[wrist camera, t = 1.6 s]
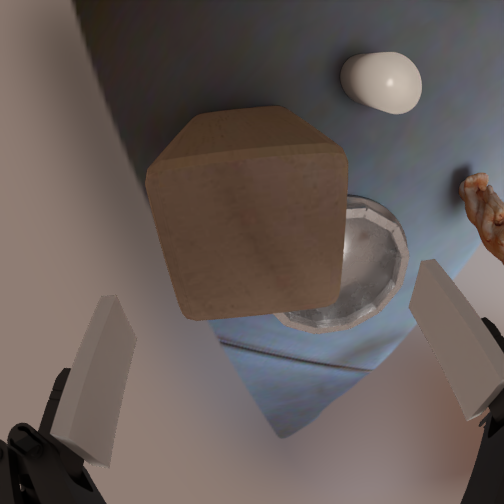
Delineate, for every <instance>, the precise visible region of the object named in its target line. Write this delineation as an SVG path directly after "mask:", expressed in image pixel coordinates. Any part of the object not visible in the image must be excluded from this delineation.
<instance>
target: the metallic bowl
mask: <svg viewBox="0 0 504 504" xmlns="http://www.w3.org/2000/svg"><path fill="white" fill-rule="evenodd" d="M408 260H409V251H408V249H407V240H406V236H405V233H404V230H403V228H402V226H401V224H400V223H399V221H398V220H397V219H396V217H395V216H394V215H393V214H392V213H391V212H390V211H389V210H388V209H387V208H385V207H384V206H382V205H381V204H379V203H377V202H375V201H373V200H371V199H368V198H365V197H361V196H355V195H347V210H346V227H345V241H344V254H343V265H342V276H341V285H340V292H339V297H338V299H337V301H336V302H335V303H333V304H331V305H329V306H327V307H322V308H314V309H307V310H299V311H291V312H283V313H274V315H275V316H276V317H277V318H278V319H279V320H280V322H281V323H282V324H283V325H285V326H287V327H291V328H294V329H298V330H302V331H305V332H309V333H313V334H315V333H316V334H321V333H328V332H335V331H341V330H347V329H349V328H350V329H351V328H353V327H355V326H356V325H358V324H360V323H362V322H364V321H366V320H367V319H369V318H371V317H373V316H374V315H376V314H378V313H379V311H380V312H381V311H382V310H383V308H384V307H385V306H386V305H387V304H388V303H389V301H390V300H391V299H392V298H393V297H394V295H395V294H396V293H397V292H398V291H399V289H400V288H401V287H402V286H401V285H403V281H404V277H405V273H406V269H407V265H408Z"/></svg>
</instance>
